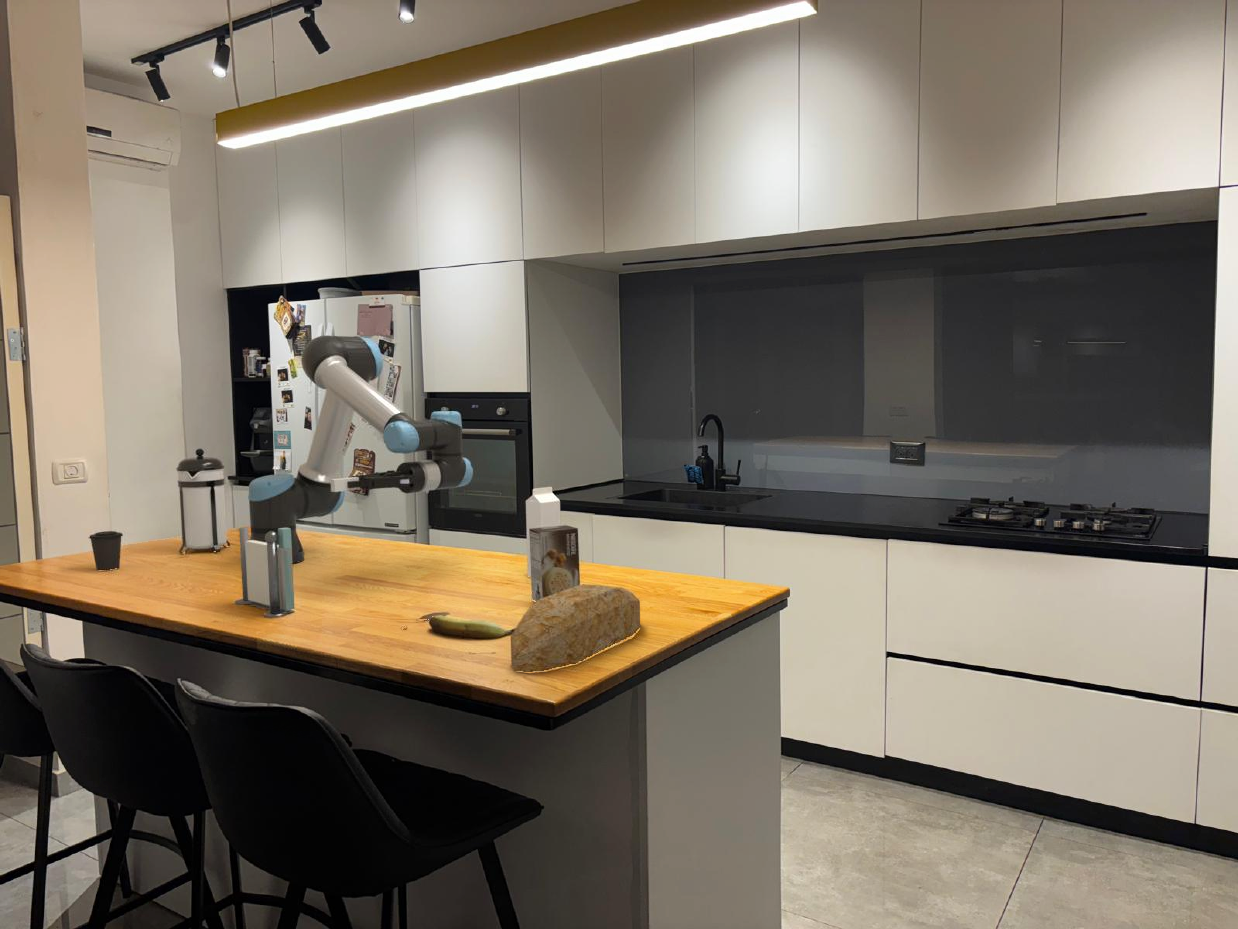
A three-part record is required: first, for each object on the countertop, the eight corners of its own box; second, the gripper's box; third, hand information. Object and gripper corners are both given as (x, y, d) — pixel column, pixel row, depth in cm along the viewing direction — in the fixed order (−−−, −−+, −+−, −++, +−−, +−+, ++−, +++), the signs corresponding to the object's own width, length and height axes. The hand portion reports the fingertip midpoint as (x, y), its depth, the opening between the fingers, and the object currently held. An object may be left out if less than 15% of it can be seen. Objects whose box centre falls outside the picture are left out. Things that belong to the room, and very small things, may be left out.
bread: (550, 679, 152) (548, 618, 152) (496, 669, 158) (494, 610, 157) (656, 627, 183) (656, 576, 182) (608, 621, 189) (607, 571, 188)
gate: (241, 599, 210) (237, 521, 208) (249, 598, 211) (245, 520, 209) (286, 612, 197) (282, 529, 196) (294, 610, 199) (290, 528, 197)
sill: (231, 602, 209) (230, 601, 209) (252, 598, 213) (252, 597, 213) (278, 615, 197) (278, 613, 197) (300, 611, 201) (300, 609, 201)
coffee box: (569, 595, 211) (567, 524, 209) (581, 601, 205) (579, 528, 204) (530, 600, 207) (528, 527, 205) (542, 606, 201) (540, 531, 200)
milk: (561, 577, 232) (560, 487, 230) (542, 581, 227) (540, 489, 225) (546, 573, 236) (544, 485, 234) (526, 577, 232) (525, 487, 230)
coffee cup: (114, 572, 248) (112, 534, 247) (84, 572, 248) (81, 534, 247) (131, 566, 256) (129, 529, 255) (101, 566, 256) (99, 529, 255)
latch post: (260, 615, 197) (255, 531, 196) (279, 611, 201) (275, 529, 199) (271, 618, 194) (267, 533, 193) (290, 614, 198) (286, 531, 196)
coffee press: (245, 549, 279) (239, 447, 276) (189, 557, 267) (183, 451, 265) (219, 543, 291) (214, 445, 288) (165, 550, 279) (159, 449, 277)
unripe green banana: (348, 645, 176) (347, 625, 175) (436, 612, 200) (435, 594, 200) (510, 666, 161) (509, 644, 160) (583, 628, 185) (583, 608, 185)
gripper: (434, 494, 228) (350, 504, 210) (400, 490, 236) (317, 500, 218) (433, 462, 227) (349, 470, 209) (400, 460, 235) (315, 467, 217)
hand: (332, 485), depth 214 cm, fingers closed
